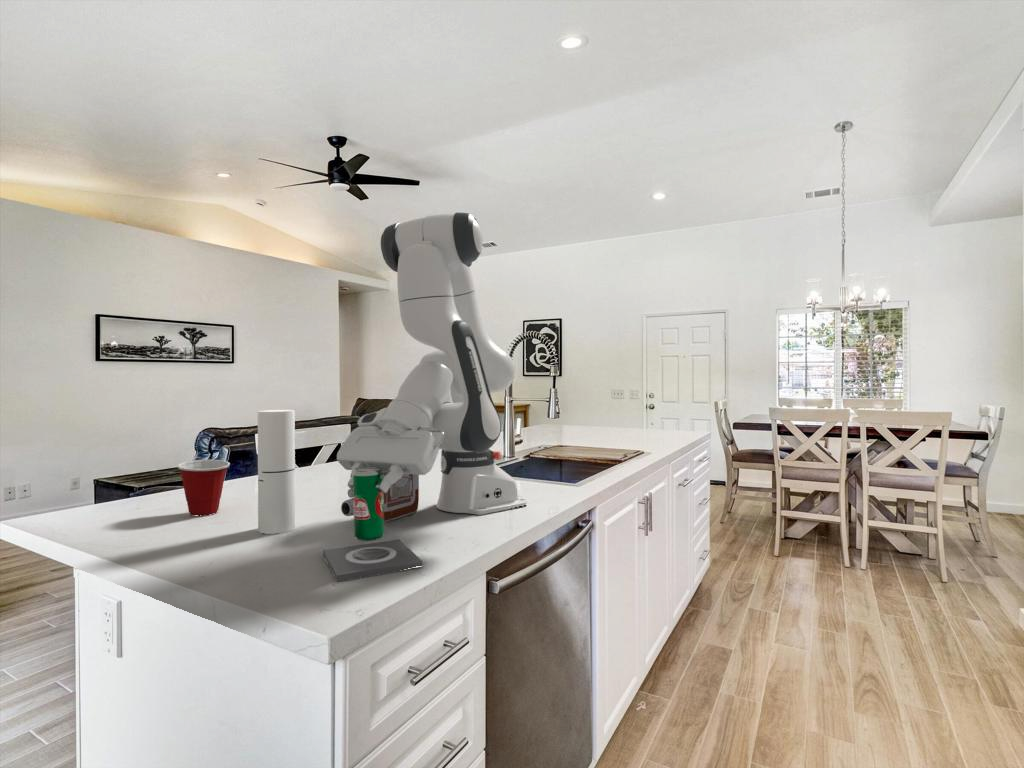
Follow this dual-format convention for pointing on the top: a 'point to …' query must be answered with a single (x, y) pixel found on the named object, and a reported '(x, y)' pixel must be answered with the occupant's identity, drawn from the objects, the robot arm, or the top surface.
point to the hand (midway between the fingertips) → (366, 489)
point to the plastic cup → (203, 484)
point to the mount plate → (370, 559)
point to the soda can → (368, 504)
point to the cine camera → (393, 498)
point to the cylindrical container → (276, 471)
